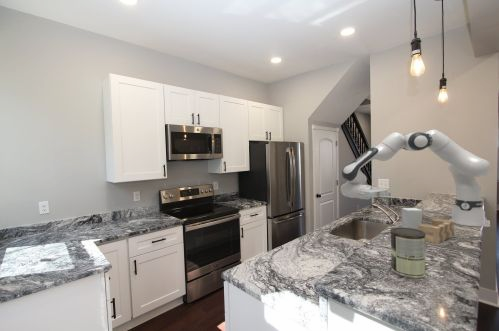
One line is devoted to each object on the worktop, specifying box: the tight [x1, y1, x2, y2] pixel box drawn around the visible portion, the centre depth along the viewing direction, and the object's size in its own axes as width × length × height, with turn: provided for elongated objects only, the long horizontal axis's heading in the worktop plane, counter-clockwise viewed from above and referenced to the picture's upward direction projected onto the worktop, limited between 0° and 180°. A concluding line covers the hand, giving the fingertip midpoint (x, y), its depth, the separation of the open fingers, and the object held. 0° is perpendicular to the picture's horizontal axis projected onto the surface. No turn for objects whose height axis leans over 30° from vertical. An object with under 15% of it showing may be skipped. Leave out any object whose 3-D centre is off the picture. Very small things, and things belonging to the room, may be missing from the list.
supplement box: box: [401, 207, 423, 230], centre depth 133 cm, size 7×7×13 cm
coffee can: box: [390, 227, 427, 279], centre depth 87 cm, size 10×10×14 cm
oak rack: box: [418, 218, 455, 245], centre depth 124 cm, size 21×8×7 cm, turn 126°
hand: (389, 194), depth 142 cm, fingers closed
